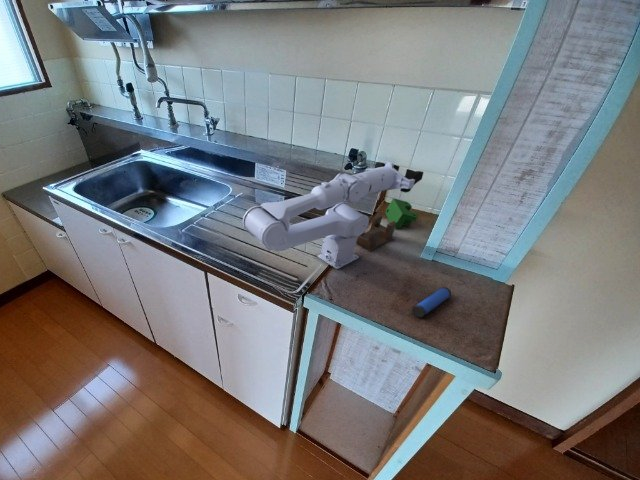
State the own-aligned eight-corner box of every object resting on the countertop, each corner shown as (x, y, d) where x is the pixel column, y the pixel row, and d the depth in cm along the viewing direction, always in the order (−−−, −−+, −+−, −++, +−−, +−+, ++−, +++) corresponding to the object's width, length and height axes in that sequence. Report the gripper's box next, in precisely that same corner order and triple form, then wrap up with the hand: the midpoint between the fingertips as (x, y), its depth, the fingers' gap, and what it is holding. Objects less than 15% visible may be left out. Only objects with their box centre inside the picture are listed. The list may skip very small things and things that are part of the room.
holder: (369, 251, 99) (374, 234, 95) (351, 241, 103) (356, 224, 99) (391, 239, 104) (397, 222, 100) (373, 230, 108) (378, 214, 104)
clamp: (401, 238, 112) (419, 222, 104) (386, 234, 111) (402, 218, 103) (400, 210, 117) (417, 193, 108) (385, 206, 116) (401, 189, 108)
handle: (421, 319, 78) (425, 311, 76) (410, 312, 80) (414, 304, 78) (448, 299, 83) (453, 291, 81) (437, 293, 85) (442, 284, 83)
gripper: (400, 171, 77) (437, 162, 82) (355, 160, 87) (391, 152, 92) (393, 200, 81) (429, 190, 86) (351, 186, 92) (385, 177, 97)
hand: (409, 172), depth 90 cm, fingers open, 7 cm apart
